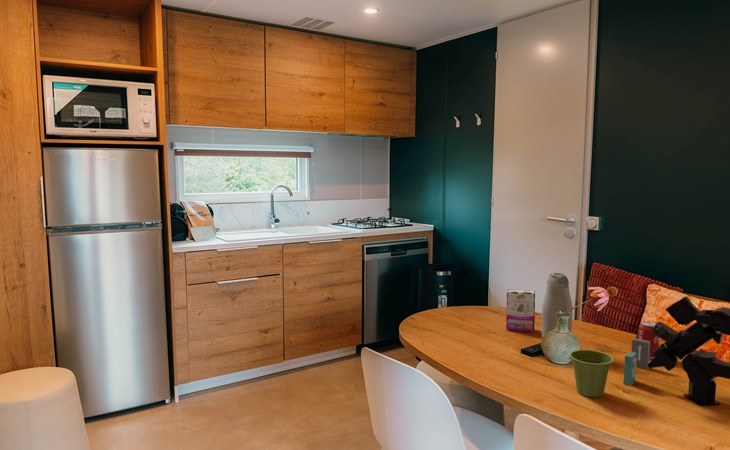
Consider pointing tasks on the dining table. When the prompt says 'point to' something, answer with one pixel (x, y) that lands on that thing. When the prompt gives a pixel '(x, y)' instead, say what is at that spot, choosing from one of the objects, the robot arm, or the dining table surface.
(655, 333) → the robot arm
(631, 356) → the tile
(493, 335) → the dining table surface
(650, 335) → the beverage can
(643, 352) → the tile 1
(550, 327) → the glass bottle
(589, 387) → the plant pot
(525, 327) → the candy bar box
